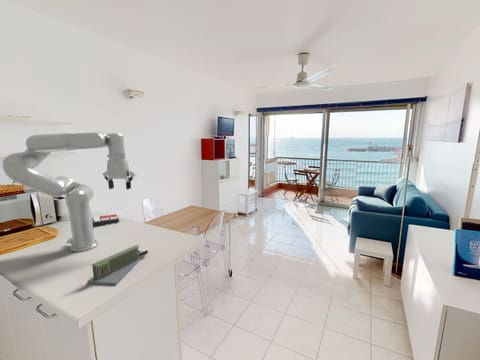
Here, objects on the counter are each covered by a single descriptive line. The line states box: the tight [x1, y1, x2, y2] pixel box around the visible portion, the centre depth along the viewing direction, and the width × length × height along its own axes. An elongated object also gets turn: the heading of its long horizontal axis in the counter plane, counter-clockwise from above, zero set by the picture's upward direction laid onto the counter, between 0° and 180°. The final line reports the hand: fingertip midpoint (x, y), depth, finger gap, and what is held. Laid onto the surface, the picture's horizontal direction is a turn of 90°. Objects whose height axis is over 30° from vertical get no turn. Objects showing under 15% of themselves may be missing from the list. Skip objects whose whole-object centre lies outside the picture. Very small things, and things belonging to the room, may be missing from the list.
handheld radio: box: [91, 244, 149, 280], centre depth 105 cm, size 7×3×25 cm
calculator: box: [92, 214, 120, 228], centre depth 162 cm, size 11×4×15 cm
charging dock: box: [86, 250, 148, 286], centre depth 106 cm, size 12×26×1 cm, turn 176°
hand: (120, 188), depth 127 cm, fingers open, 9 cm apart
